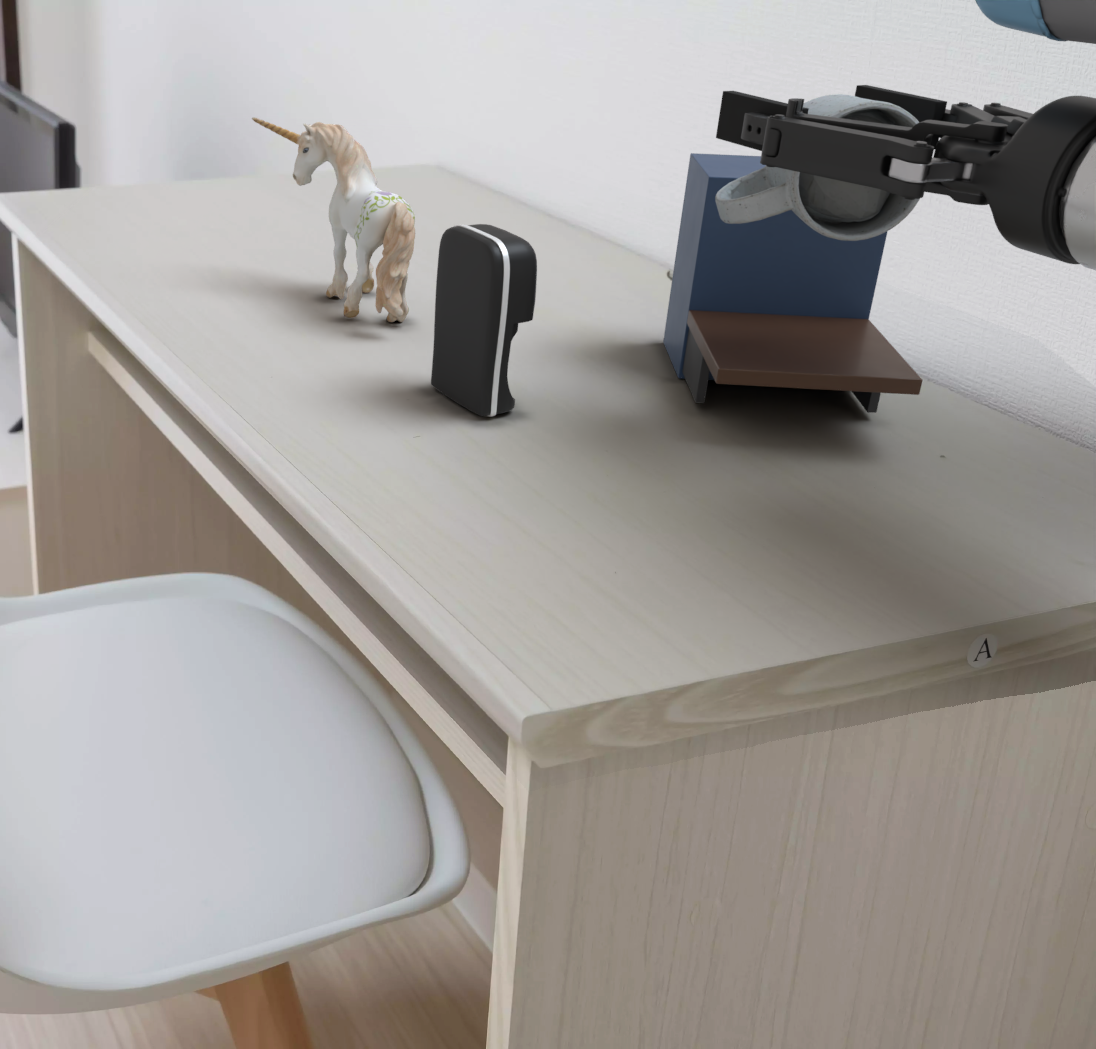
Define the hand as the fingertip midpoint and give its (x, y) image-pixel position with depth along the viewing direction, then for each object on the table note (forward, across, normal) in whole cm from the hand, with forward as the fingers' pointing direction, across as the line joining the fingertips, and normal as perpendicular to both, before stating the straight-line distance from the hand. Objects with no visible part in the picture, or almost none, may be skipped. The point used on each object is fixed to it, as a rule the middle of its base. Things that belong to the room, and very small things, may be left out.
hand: (792, 111), depth 82 cm
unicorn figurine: (+29, -18, -19) cm, 39 cm away
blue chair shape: (+1, +3, -19) cm, 19 cm away
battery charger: (+6, -17, -19) cm, 26 cm away
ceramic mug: (-4, -1, -6) cm, 8 cm away
